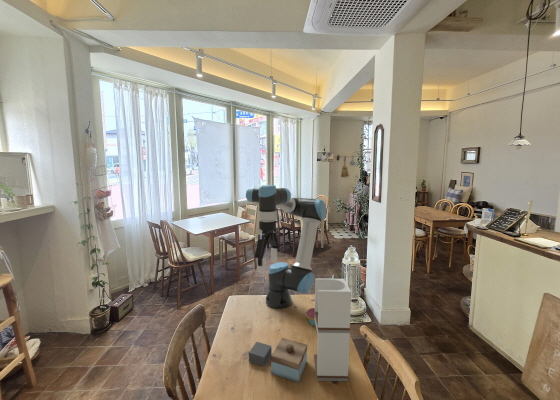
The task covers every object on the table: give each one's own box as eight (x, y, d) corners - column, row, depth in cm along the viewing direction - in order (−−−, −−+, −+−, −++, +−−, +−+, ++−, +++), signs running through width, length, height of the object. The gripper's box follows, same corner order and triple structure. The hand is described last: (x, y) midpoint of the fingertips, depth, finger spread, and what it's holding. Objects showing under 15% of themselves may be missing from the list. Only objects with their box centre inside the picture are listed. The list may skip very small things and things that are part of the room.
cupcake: (309, 316, 132) (309, 295, 131) (324, 320, 128) (325, 298, 127) (303, 325, 124) (304, 302, 123) (320, 330, 121) (320, 307, 119)
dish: (281, 353, 105) (281, 343, 104) (306, 361, 101) (307, 350, 100) (271, 373, 95) (271, 361, 94) (298, 382, 91) (298, 370, 90)
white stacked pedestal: (341, 359, 102) (344, 278, 98) (347, 381, 91) (351, 291, 87) (313, 358, 102) (315, 278, 98) (317, 380, 92) (318, 291, 88)
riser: (256, 350, 107) (256, 341, 107) (271, 354, 104) (271, 345, 104) (248, 361, 101) (248, 352, 100) (264, 366, 98) (264, 357, 98)
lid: (281, 343, 104) (281, 334, 104) (307, 350, 100) (307, 341, 100) (271, 361, 94) (271, 352, 94) (298, 370, 90) (298, 360, 90)
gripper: (271, 215, 121) (271, 256, 123) (245, 225, 98) (246, 276, 100) (285, 216, 118) (285, 258, 120) (262, 226, 95) (263, 279, 97)
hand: (267, 266), depth 110 cm, fingers open, 13 cm apart
